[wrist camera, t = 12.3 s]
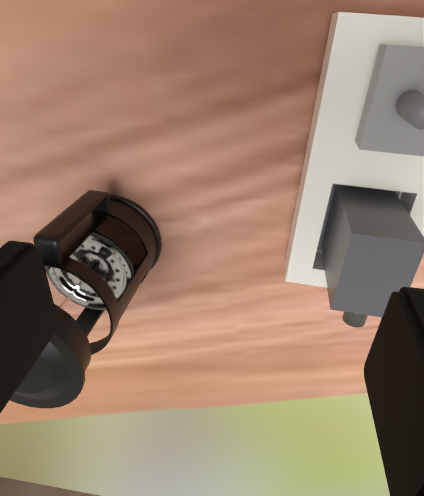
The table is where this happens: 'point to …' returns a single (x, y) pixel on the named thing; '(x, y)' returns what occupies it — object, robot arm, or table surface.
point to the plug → (368, 251)
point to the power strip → (340, 135)
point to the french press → (85, 290)
